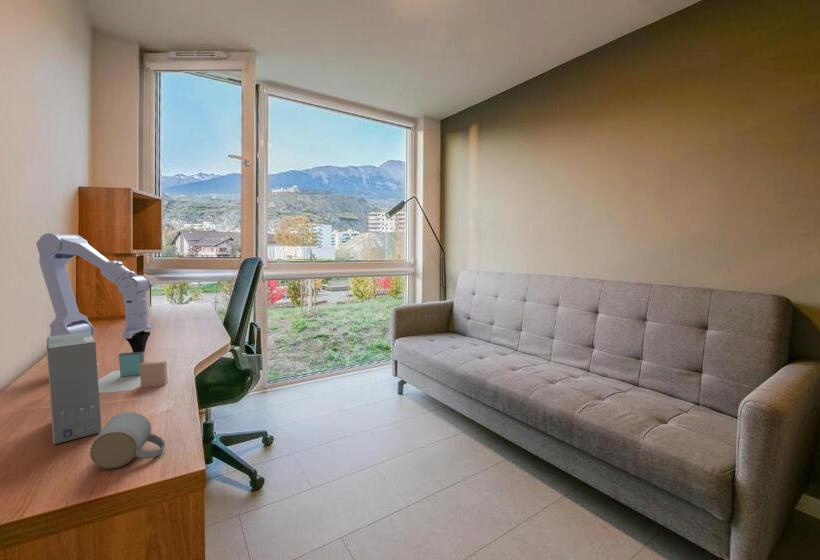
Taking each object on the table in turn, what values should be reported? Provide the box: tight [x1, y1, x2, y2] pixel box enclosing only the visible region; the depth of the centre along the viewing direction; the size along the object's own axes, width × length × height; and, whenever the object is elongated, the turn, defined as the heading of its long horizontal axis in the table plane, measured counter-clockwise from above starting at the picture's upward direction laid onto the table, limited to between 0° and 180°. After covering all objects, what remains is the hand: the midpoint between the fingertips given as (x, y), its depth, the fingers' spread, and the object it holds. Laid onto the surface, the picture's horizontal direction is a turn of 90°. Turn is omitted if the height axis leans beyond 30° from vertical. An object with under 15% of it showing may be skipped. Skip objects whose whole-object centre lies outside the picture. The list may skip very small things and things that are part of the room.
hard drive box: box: [46, 332, 102, 445], centre depth 81 cm, size 16×8×20 cm, turn 44°
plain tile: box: [140, 360, 169, 388], centre depth 106 cm, size 2×6×7 cm, turn 104°
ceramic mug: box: [89, 411, 166, 470], centre depth 70 cm, size 11×8×8 cm
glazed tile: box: [118, 351, 145, 377], centre depth 114 cm, size 2×6×7 cm, turn 104°
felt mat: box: [98, 370, 141, 394], centre depth 110 cm, size 20×14×1 cm
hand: (139, 355), depth 119 cm, fingers closed
